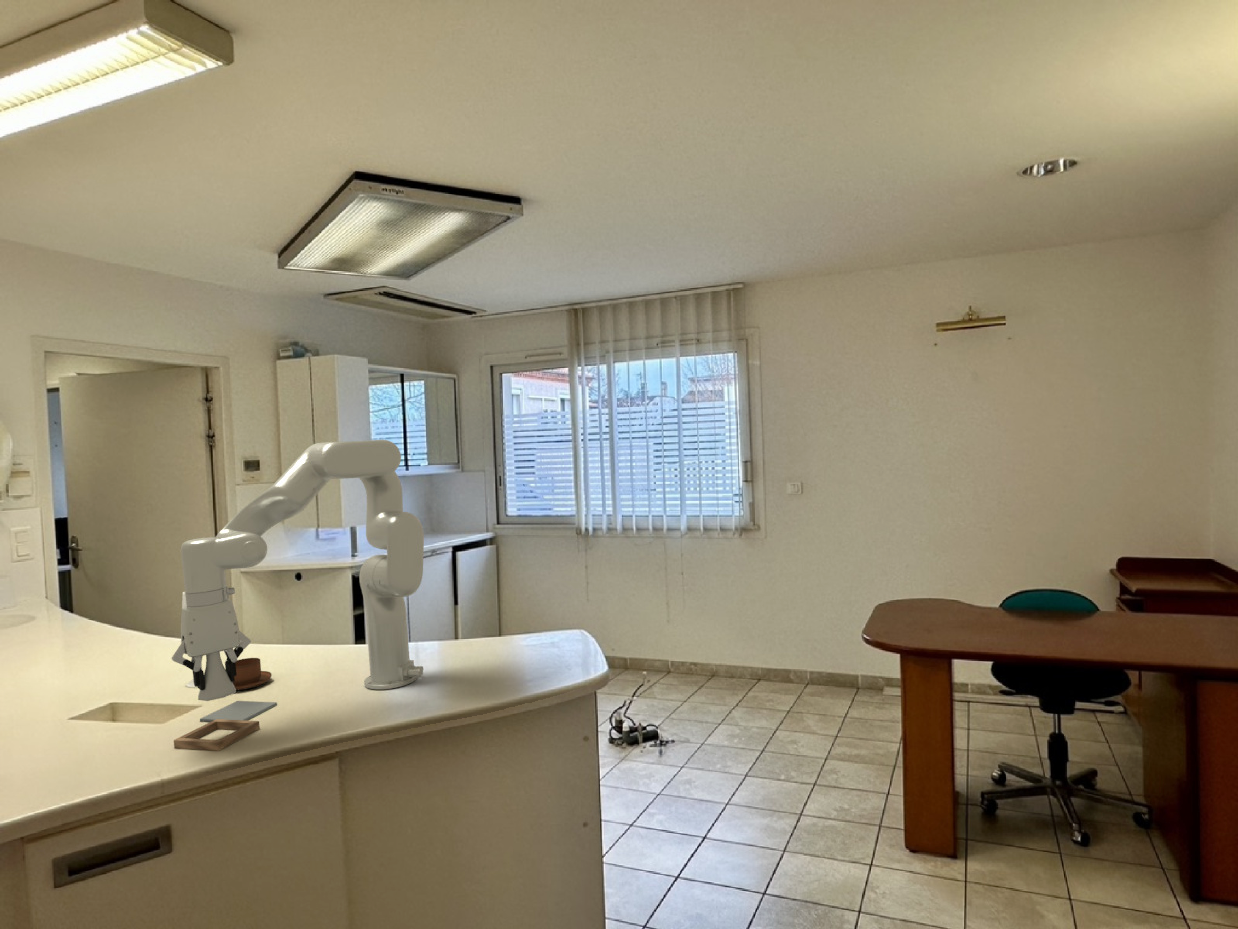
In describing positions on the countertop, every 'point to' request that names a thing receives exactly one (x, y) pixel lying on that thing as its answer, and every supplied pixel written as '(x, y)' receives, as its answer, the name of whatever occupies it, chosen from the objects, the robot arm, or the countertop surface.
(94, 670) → the countertop surface
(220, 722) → the square wooden frame
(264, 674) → the cup and saucer
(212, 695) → the flask
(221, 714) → the slate tile
